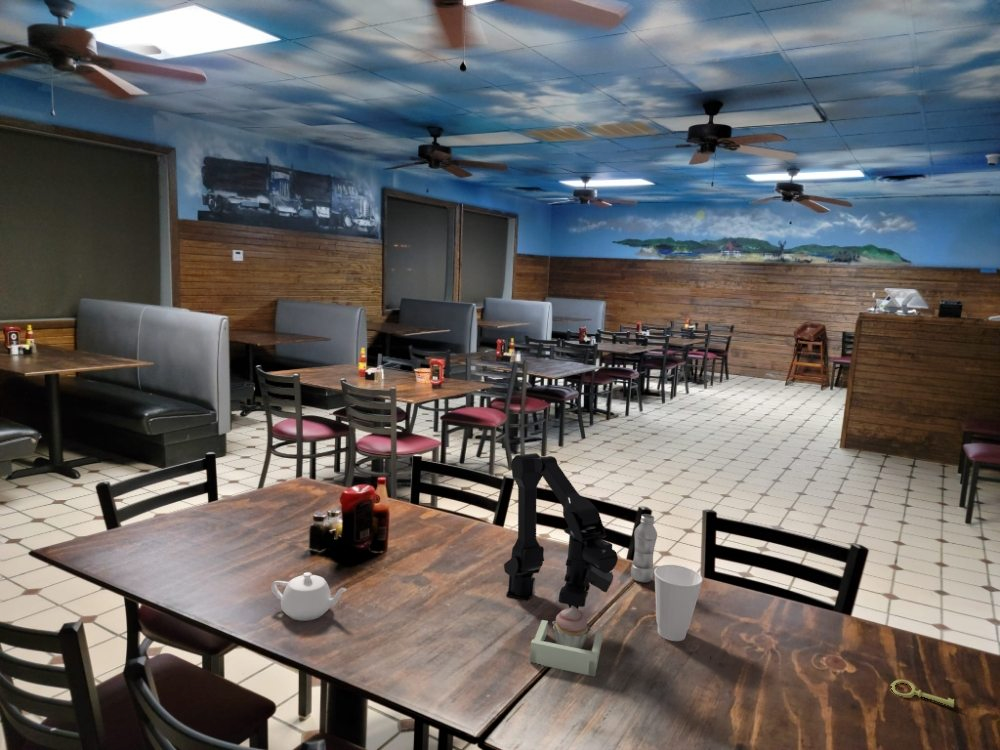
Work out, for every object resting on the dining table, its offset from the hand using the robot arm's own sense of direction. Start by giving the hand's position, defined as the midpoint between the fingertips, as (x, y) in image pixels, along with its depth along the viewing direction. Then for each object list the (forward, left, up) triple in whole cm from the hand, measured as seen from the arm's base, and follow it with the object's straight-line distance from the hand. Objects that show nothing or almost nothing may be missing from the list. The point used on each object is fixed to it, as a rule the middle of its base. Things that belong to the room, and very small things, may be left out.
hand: (574, 614), depth 166 cm
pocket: (0, -9, -5) cm, 10 cm away
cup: (+24, +9, -5) cm, 26 cm away
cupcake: (0, -5, -5) cm, 7 cm away
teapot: (-65, -15, -5) cm, 67 cm away
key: (+78, +3, -6) cm, 79 cm away
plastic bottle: (+15, +37, -5) cm, 41 cm away
